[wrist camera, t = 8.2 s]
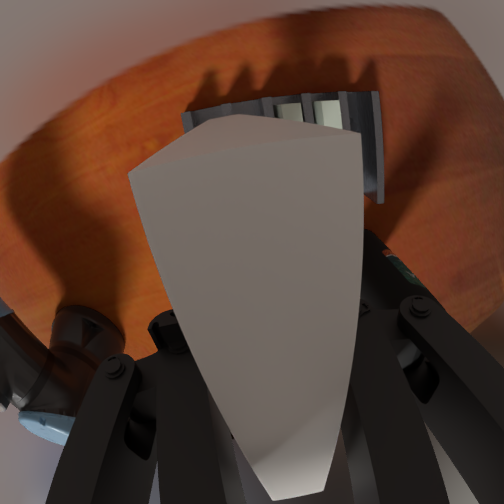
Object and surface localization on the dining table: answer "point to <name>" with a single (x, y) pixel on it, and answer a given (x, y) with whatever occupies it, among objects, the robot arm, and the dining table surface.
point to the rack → (352, 115)
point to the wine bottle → (387, 276)
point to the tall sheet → (264, 279)
